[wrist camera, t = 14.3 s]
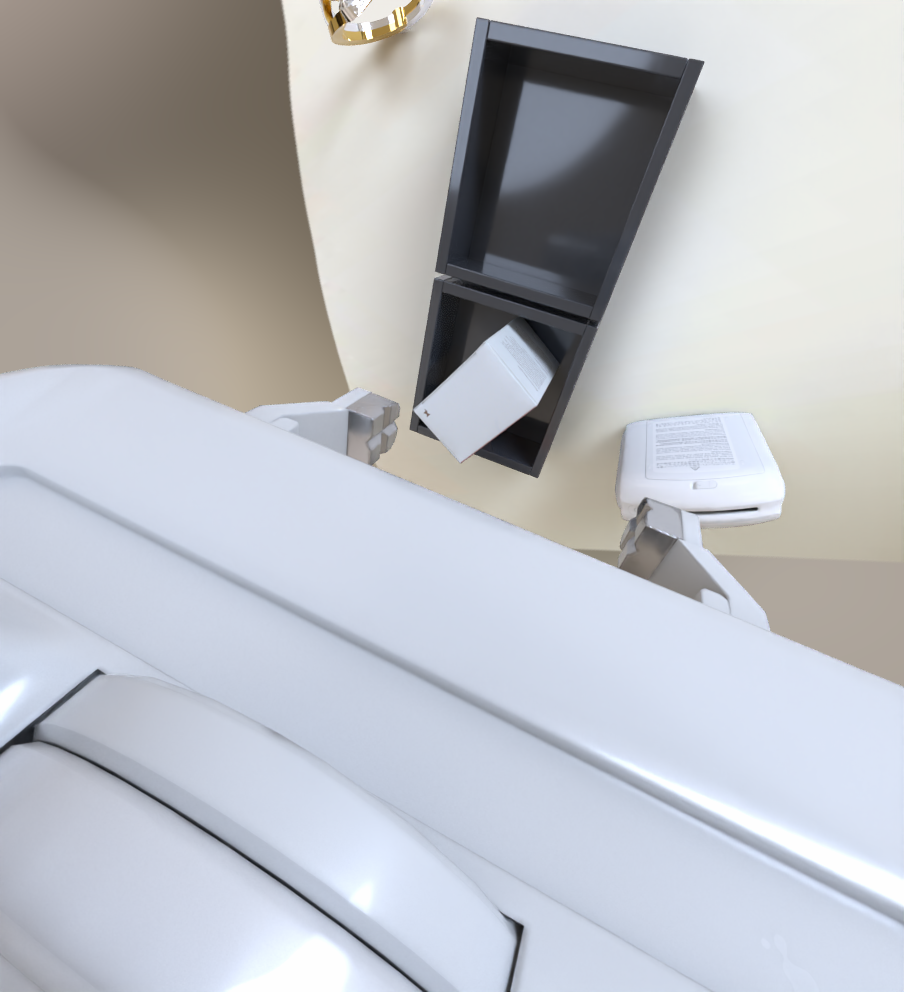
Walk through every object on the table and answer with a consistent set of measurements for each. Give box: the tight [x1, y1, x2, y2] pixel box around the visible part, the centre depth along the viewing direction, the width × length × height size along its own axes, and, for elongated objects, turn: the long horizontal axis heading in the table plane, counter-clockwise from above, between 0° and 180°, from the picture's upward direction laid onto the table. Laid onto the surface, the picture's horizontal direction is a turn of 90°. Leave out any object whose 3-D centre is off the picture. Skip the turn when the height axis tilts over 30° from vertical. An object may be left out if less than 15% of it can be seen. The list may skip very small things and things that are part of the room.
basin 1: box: [435, 18, 704, 322], centre depth 29 cm, size 13×13×6 cm
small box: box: [413, 316, 560, 463], centre depth 35 cm, size 8×6×10 cm
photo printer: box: [615, 412, 785, 529], centre depth 32 cm, size 10×4×12 cm, turn 104°
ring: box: [319, 0, 433, 46], centre depth 26 cm, size 7×3×8 cm, turn 103°
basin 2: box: [410, 275, 602, 478], centre depth 37 cm, size 13×13×6 cm
